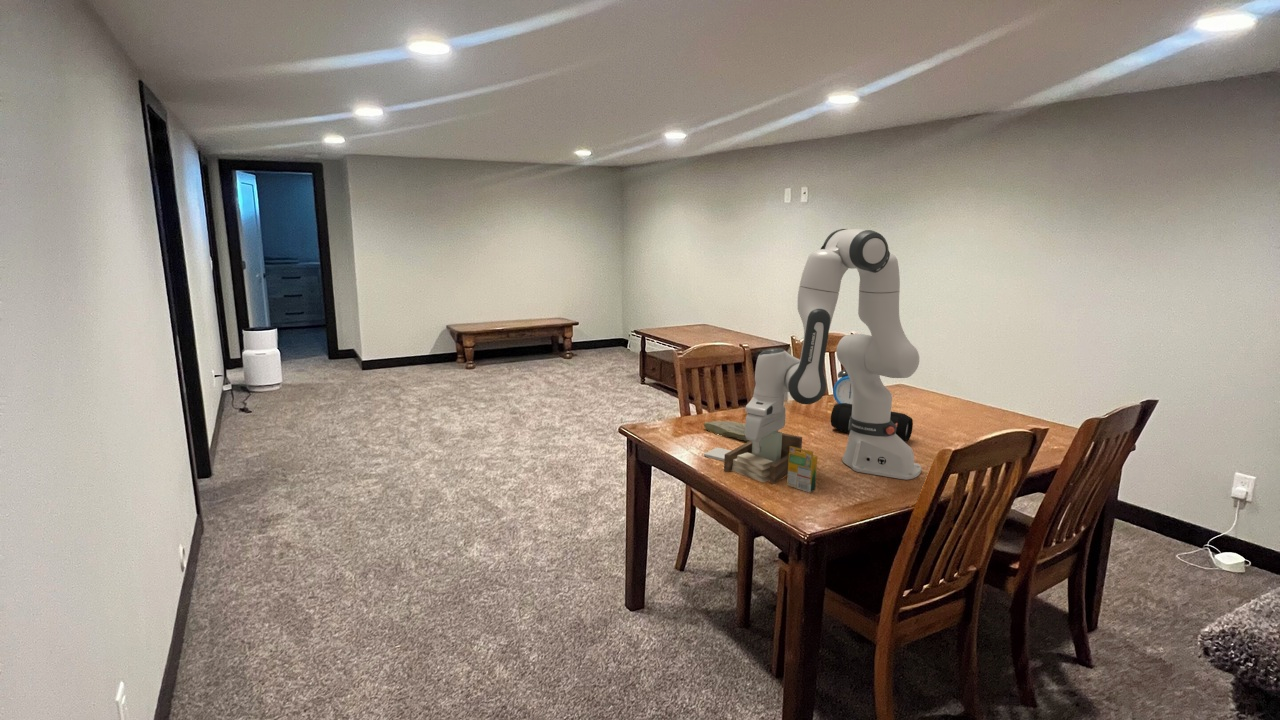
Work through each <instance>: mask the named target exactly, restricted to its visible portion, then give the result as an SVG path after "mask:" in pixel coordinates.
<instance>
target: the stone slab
mask: <svg viewBox="0 0 1280 720" xmlns="http://www.w3.org/2000/svg"><path fill="white" fill-rule="evenodd" d="M703 427H704V428H705V430H706V431H707V430H708V431H707V432H709V431H711V432H710V433H714V434H715V433H716V434H715V435H717V434H719V435H722V436H721V437H726V436H728V437H727V438H735V439H737V440H741V441H744V442H745V443H747V442H749V441H751V440H747V439H746V437H745V423H741V422H737V421H732V420H723V421H722V420H720V421H719V420H718V421H717V420H713V421H707V422H704V423H703ZM719 435H718V436H719Z"/></svg>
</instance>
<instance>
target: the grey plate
mask: <svg viewBox="0 0 1280 720" xmlns="http://www.w3.org/2000/svg"><path fill="white" fill-rule="evenodd" d="M730 451H732V449H731V450H730V449H725V448H722V447H718V446H716V447H714V448H713V449H711V450H709V451H706V452H705V453H703V457H705V456H706V457H705V458H709V457H710V459H713V458H714V459H713V460H718V461H722V462H724V458H725V454H726V453H728V452H730Z"/></svg>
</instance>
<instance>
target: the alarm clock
mask: <svg viewBox="0 0 1280 720" xmlns="http://www.w3.org/2000/svg"><path fill="white" fill-rule="evenodd" d="M837 377H838V380H836V382H835V383H834V386H833V388H832V391H833V392H832V394H833V398H834V400H835V401H836V404H841V403H848V404H852V401H853V392H852V385H851V382H850V378H849V376H848V373H847V371H846V369H841V370H840V371H839V372H838V373H837Z"/></svg>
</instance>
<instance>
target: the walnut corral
mask: <svg viewBox="0 0 1280 720" xmlns="http://www.w3.org/2000/svg"><path fill="white" fill-rule="evenodd" d="M781 433H782V447H781V459H780V460H778V461H777V462H775V463H774V464H772V465H771V466H770V480H769V483H770V484H773V485H774V484H776V483H778V482H779V481H780V480H782V479H783V478H785V477H787V475H788V461H789V448H790V446H792V447H796V448H800V449H803V448H802V447H803V437H802V436H798V435H793V434H788V433H783V432H781ZM796 451H799V450H796ZM747 452H748V453H751V454H752V441H749V442H745V443H743V444H741V445H740V446H738V447H736V448H734V449H731V451H730V452H728V453H726V454H725V458H724V461H723V471H724V472H728V473H730V471H732V465H733V460H734V459H737V455H741V454H744V453H747ZM799 452H802V451H801V450H800V451H799Z"/></svg>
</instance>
